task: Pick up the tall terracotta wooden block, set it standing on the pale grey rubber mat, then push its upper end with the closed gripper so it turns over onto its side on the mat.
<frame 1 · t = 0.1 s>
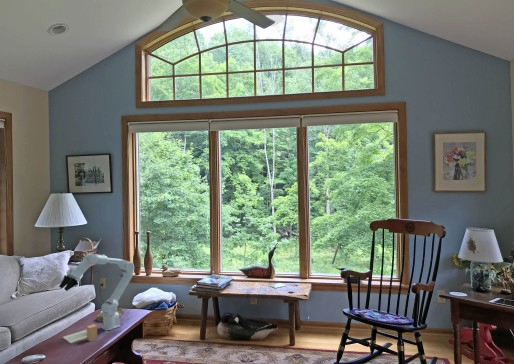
hand: (62, 288, 219), 32 cm above the table, tool tilted 50°, fingers open, 7 cm apart
grey mat: (78, 336, 227), on the table
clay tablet: (111, 317, 260), on the table
terracotta block: (92, 339, 223), on the table
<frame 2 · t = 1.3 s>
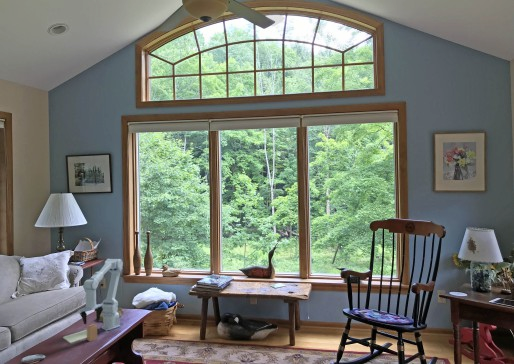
hand: (91, 322, 223), 10 cm above the table, tool pointing down, fingers open, 7 cm apart
nothing on the table moved.
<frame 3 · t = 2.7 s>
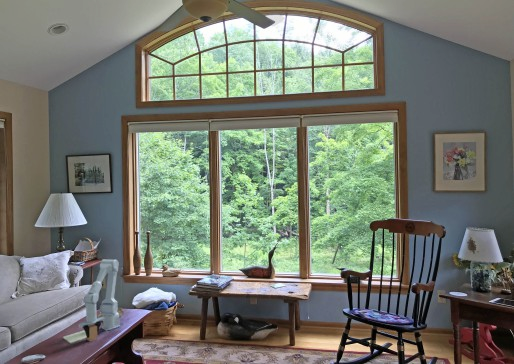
hand: (92, 335, 223), 2 cm above the table, tool pointing down, fingers closed on terracotta block, 4 cm apart
terracotta block: (92, 339, 223), on the table, touching gripper
everything else where it was.
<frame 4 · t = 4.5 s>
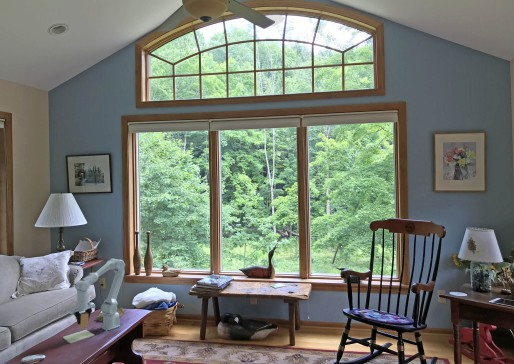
hand: (83, 322, 226), 9 cm above the table, tool pointing down, fingers closed on terracotta block, 4 cm apart
terracotta block: (83, 326, 226), point 7 cm above the table, touching gripper
everything else where it was.
when the fingers open (4 cm above the table, at t = 6.2 s): terracotta block drops 1 cm, resting on grey mat.
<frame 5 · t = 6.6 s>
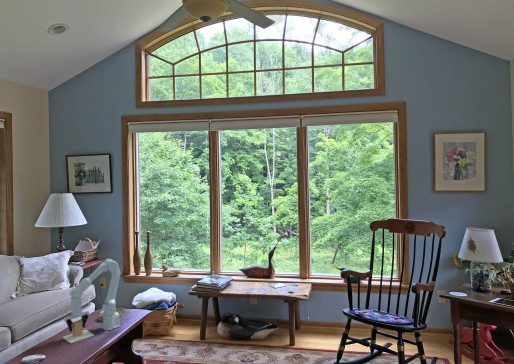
hand: (77, 329, 228), 4 cm above the table, tool pointing down, fingers open, 7 cm apart
terracotta block: (77, 335, 228), point 1 cm above the table, touching grey mat
everything else where it was.
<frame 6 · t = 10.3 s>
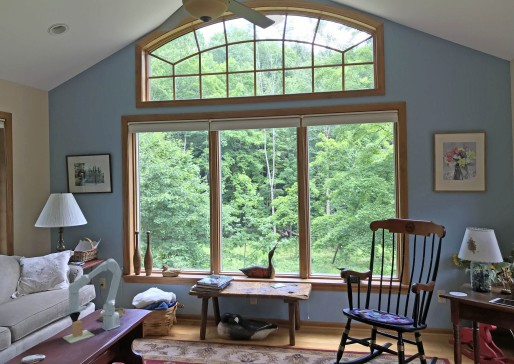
hand: (74, 324, 230), 6 cm above the table, tool pointing down, fingers closed
terracotta block: (77, 335, 228), point 1 cm above the table, touching grey mat, gripper
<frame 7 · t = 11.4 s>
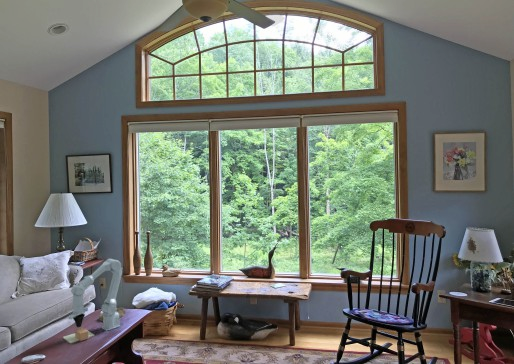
hand: (78, 326, 226), 6 cm above the table, tool pointing down, fingers closed
terracotta block: (78, 332, 226), point 3 cm above the table, tilted 90°, touching grey mat
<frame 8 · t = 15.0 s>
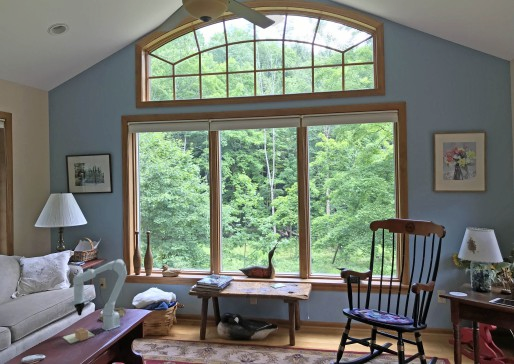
hand: (79, 315, 235), 10 cm above the table, tool pointing down, fingers closed
at the end: terracotta block tilted 90°; terracotta block inside the target area on the grey mat (0.0 cm from its centre), point 2.8 cm above the grey mat's base; the gripper is holding nothing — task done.
